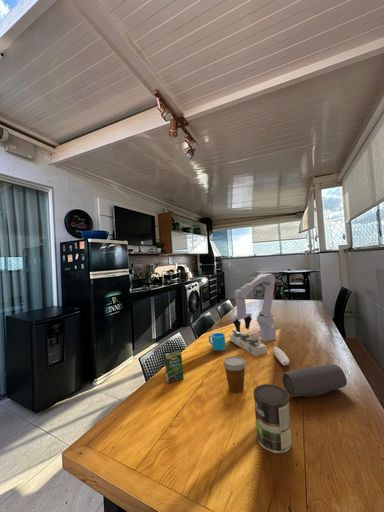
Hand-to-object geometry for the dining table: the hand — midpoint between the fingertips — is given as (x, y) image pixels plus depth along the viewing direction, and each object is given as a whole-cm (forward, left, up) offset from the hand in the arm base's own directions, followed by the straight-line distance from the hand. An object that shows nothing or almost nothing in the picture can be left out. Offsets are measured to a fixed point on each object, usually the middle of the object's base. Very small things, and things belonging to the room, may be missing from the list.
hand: (242, 330), depth 140 cm
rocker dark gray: (0, +1, -4) cm, 4 cm away
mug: (+15, -8, -11) cm, 20 cm away
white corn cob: (-7, +25, -11) cm, 27 cm away
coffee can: (+32, +64, -10) cm, 73 cm away
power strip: (-2, -2, -10) cm, 11 cm away
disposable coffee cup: (+28, +36, -10) cm, 47 cm away
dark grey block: (0, -8, -4) cm, 9 cm away
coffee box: (+50, +17, -10) cm, 54 cm away
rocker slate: (0, +10, -4) cm, 10 cm away
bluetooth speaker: (+2, +53, -11) cm, 54 cm away
